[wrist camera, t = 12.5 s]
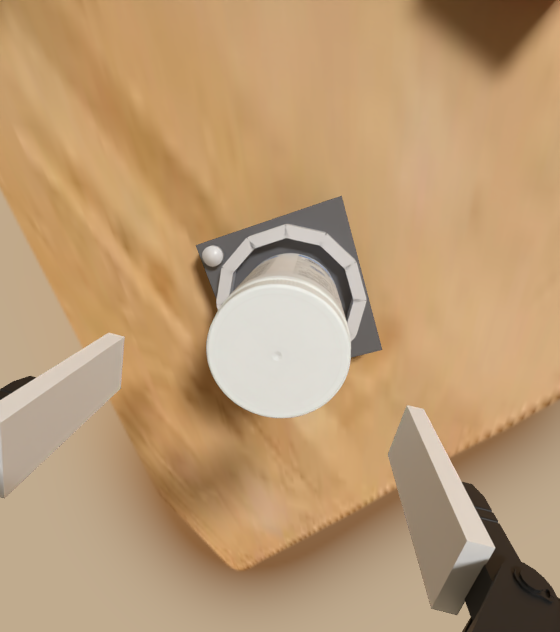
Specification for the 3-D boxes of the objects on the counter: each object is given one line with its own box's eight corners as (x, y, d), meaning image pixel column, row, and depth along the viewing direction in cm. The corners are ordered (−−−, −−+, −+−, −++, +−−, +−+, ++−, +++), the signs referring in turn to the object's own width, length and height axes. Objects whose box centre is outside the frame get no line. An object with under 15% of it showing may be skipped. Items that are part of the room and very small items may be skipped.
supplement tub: (252, 344, 38) (214, 426, 24) (237, 257, 35) (185, 291, 21) (343, 336, 37) (358, 418, 23) (335, 245, 34) (347, 273, 20)
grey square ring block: (207, 241, 39) (190, 247, 34) (338, 196, 36) (342, 195, 31) (254, 367, 43) (246, 389, 38) (376, 336, 40) (384, 355, 35)
